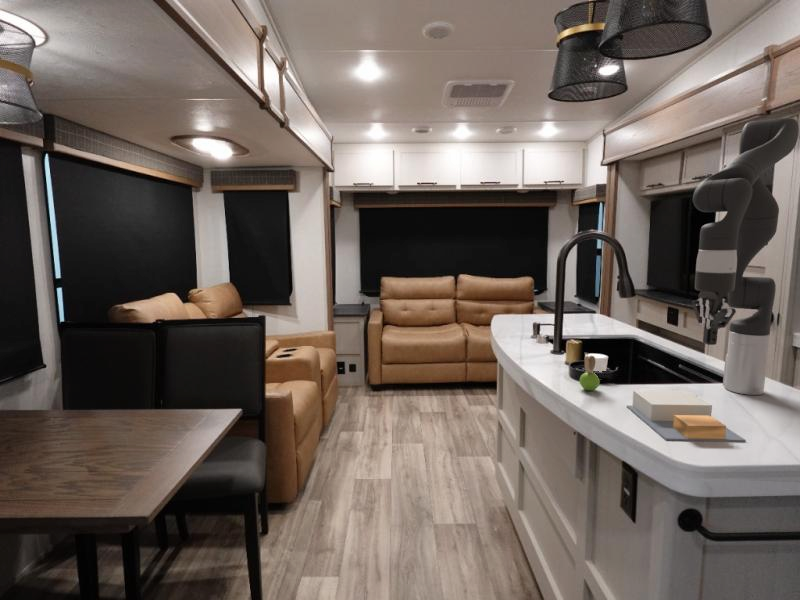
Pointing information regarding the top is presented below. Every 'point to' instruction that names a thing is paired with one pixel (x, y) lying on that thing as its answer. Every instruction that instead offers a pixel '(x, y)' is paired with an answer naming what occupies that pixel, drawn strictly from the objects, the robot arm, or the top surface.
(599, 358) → the white chunky block
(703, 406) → the white rectangular block
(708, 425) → the orange flat block
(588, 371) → the green maraca
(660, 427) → the mat
